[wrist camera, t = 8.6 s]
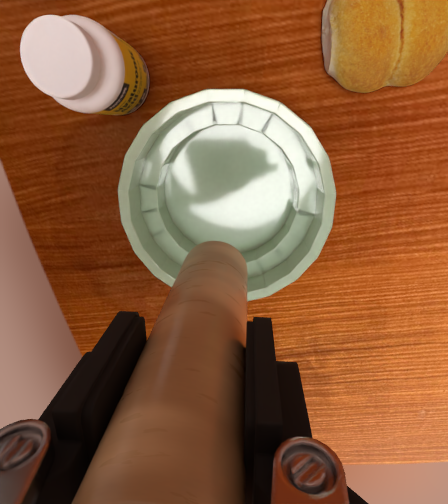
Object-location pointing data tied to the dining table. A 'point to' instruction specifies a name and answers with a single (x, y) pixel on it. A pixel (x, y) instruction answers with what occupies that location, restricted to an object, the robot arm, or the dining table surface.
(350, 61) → the bread roll
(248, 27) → the dining table surface
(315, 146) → the bowl
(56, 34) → the supplement bottle
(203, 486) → the stirring stick
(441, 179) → the dining table surface
